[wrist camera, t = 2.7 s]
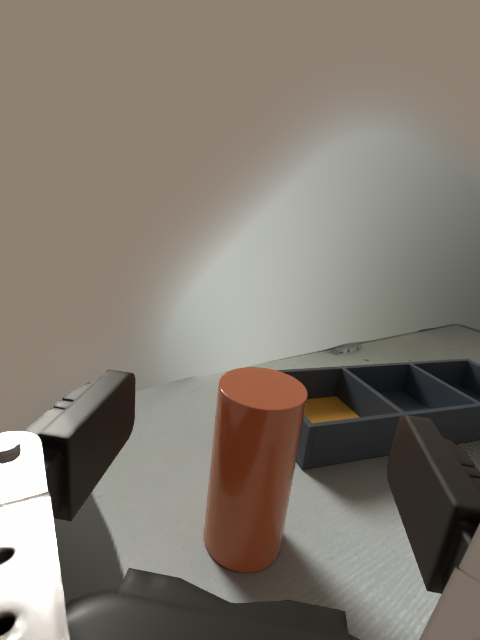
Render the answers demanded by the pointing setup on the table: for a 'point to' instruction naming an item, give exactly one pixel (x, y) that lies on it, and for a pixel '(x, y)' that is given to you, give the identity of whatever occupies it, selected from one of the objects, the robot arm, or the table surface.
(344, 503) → the table surface
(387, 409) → the gray storage bin
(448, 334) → the table surface
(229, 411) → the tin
